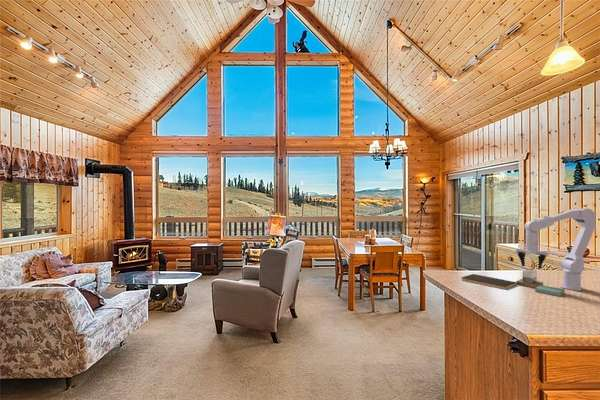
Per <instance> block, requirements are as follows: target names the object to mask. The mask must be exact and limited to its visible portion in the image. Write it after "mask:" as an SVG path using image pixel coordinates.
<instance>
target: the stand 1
mask: <svg viewBox="0 0 600 400" xmlns="http://www.w3.org/2000/svg"><path fill="white" fill-rule="evenodd" d="M515 282H516V285H515V286H521V287H527V288H531V289H535V288H536V287H538V286H540V285H544V282H542V281H538V280H537V282H535V283H533V284H531V283H526V282H523V278H520V279H517V280H515Z"/></svg>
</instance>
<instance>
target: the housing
mask: <svg viewBox="0 0 600 400" xmlns="http://www.w3.org/2000/svg"><path fill="white" fill-rule="evenodd" d="M537 278H538V271H537V270H534V269H533V270H532V269H529V268H528V269H526V270H525V269H524V270H522V279H523V282H526V283H531V284H533V283H535V282H537V281H538V280H537Z"/></svg>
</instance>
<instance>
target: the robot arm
mask: <svg viewBox="0 0 600 400" xmlns="http://www.w3.org/2000/svg"><path fill="white" fill-rule="evenodd" d="M596 217H597V214H596V213H595V212H594V211H593V210H592V208H578V207H575V208H572V209H568V210H565V211H564V212H560V213H557V214H555V215H552V216H549V215H542V217H540V218H537V219H536V218H534V219H533V221H531V220H528V221H526V223H524V225H523V228H524V230H525V249H521V248H520V249H519V248H516V249H515V253H517V256H518V258H519V260H520V263H521V267H525V265H526V263H525V259H526V255H527V254H528V255H535V256H537V257H538V258H537V259H538V269H539V270H541V269H542V265H543V263H544V261H545V259H546V258H547V257H549V252H547V251H541V250H539V233H540V231H541V230H543V229H546V228H550V227H553V226H554V224H555V223H556V222H561V221H563V220H567V219H570V218H571V219H572V220H574V221H575V222H576V223H578V225H579V226H580V229H579V231H578V232H577V235H576V237H575V240H574V241H573V244H572V247H571V250H570V252H569V253H568V254H566V255H565V256H564V258H563V259H562V260H561V261H560V267H561V268H562V269H563V271H562V272H563V274H562V285H560V288H561V289H566V290H572V291H576V292H577V291H578V292H580V291H582V290H583V289H584V287H583V286H582V276H581V275H582V272H583V271H584V270H585V262H586V261H585V259H584V254H585V252H586V250H587V248H588V245H589V243H590V240H591V238H592V236H593V234H594V232H595V229H596Z"/></svg>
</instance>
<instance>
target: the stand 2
mask: <svg viewBox="0 0 600 400" xmlns="http://www.w3.org/2000/svg"><path fill="white" fill-rule="evenodd" d="M534 289H535V291H534V292H535V293H540V294H545V295H549V296H556V297H561V296H563V295H564V294H565V292H566V291H565V288H561V287H560V288H559V287H554V286H549V285H544V284H543V285H540V286H538V287H536V288H534Z"/></svg>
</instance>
